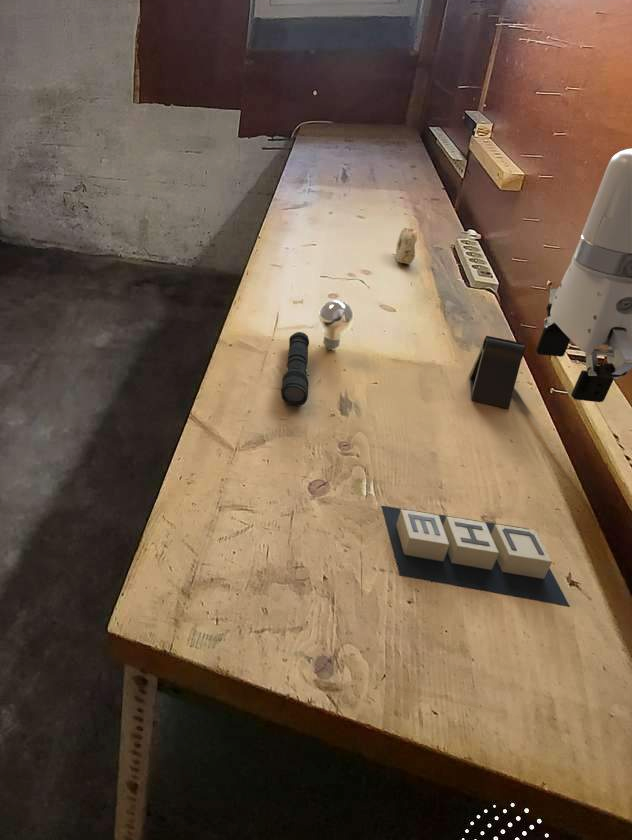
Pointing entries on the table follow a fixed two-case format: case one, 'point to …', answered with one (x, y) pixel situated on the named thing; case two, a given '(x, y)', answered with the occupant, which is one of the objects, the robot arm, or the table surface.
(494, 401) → the phone stand
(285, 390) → the flashlight
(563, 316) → the robot arm
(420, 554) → the letter e tile
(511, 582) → the mat
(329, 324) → the light bulb
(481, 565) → the letter h block
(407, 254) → the stone disc
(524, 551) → the tile
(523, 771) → the table surface
